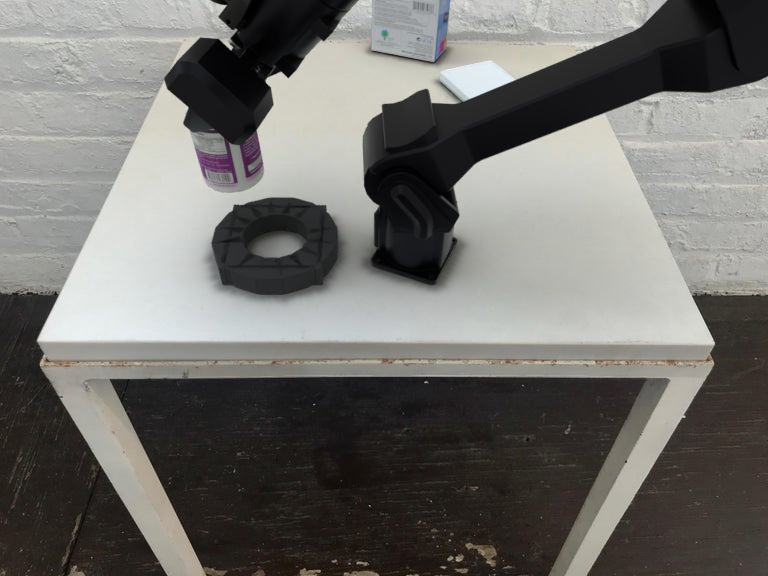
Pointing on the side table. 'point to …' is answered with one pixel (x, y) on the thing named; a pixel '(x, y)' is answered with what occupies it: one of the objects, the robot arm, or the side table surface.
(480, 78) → the hard drive
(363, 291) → the side table surface
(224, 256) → the pad
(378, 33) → the ink cartridge box
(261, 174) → the pill bottle
